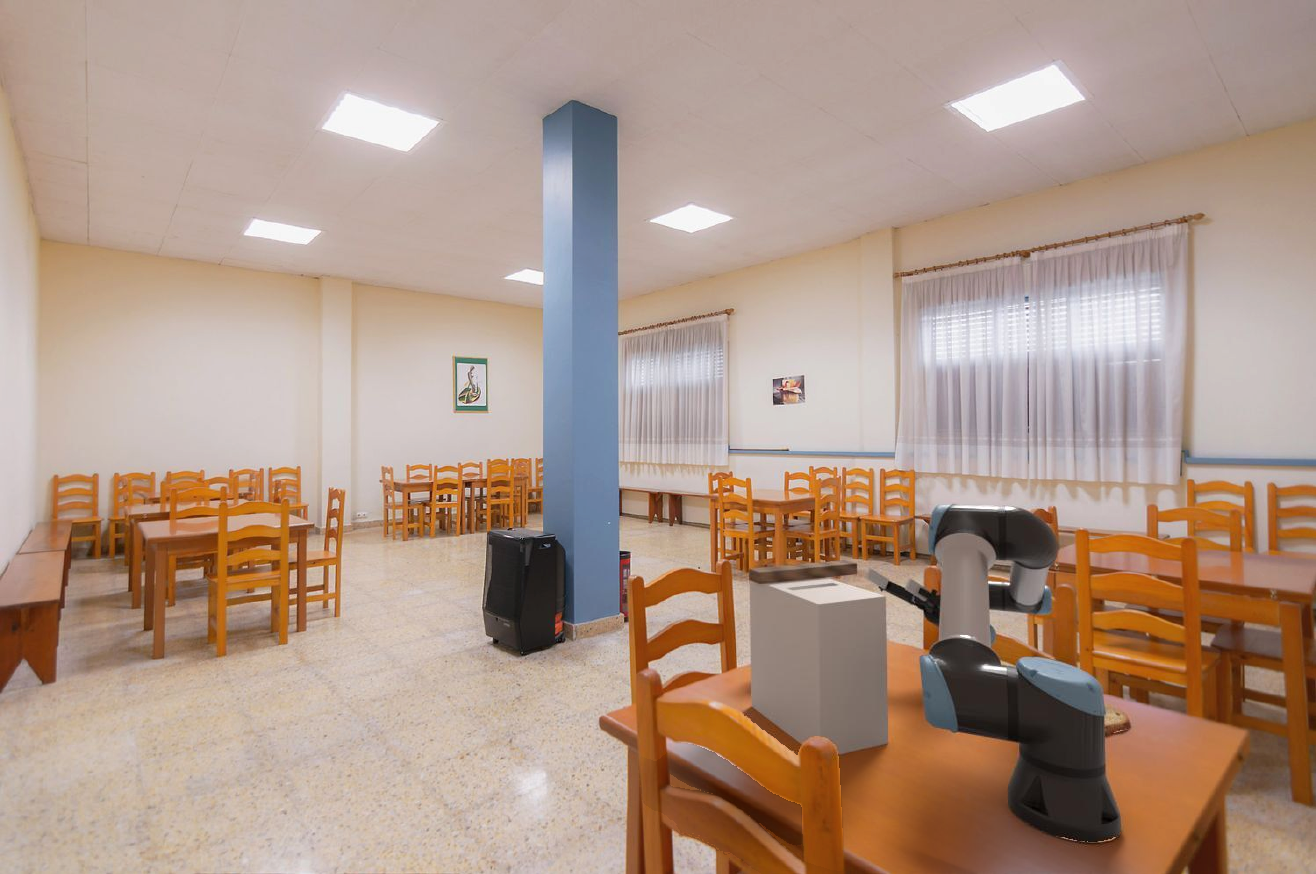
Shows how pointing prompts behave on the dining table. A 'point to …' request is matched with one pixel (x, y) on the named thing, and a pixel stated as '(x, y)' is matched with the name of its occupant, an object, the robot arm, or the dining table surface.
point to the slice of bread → (1115, 720)
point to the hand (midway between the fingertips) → (887, 578)
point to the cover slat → (802, 571)
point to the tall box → (820, 661)
